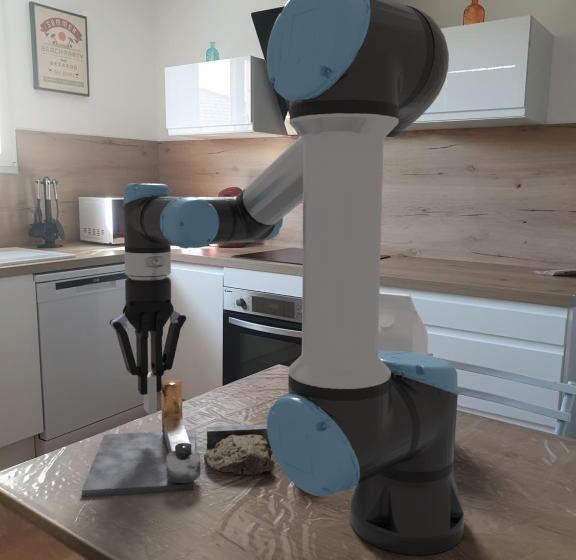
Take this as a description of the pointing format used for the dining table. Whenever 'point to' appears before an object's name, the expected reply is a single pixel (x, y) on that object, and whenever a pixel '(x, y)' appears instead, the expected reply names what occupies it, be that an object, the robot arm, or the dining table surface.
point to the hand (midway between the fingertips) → (150, 410)
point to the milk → (400, 325)
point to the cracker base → (148, 460)
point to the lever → (177, 435)
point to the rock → (240, 455)
